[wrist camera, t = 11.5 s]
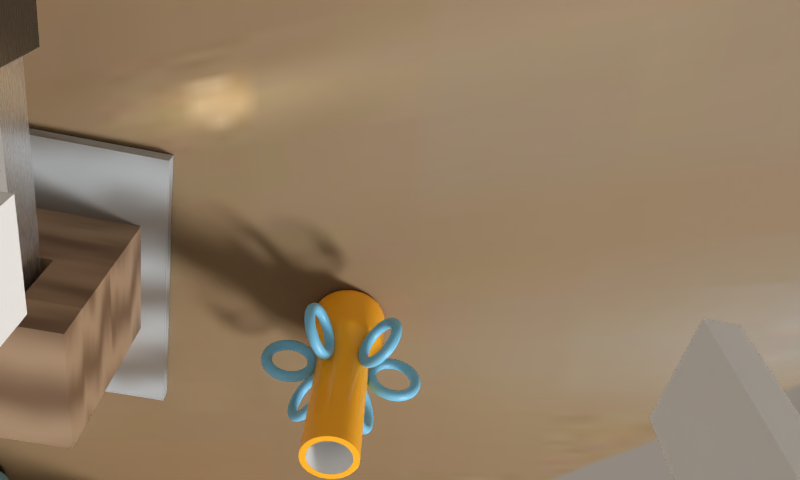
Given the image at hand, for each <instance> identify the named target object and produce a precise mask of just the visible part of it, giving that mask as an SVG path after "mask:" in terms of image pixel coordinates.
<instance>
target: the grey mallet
mask: <svg viewBox="0 0 800 480" xmlns="http://www.w3.org/2000/svg"><path fill="white" fill-rule="evenodd" d="M38 47H39V35H38V22H37V9H36V0H0V191H1V192H6V193H12V194H14V196H15V206H16V215H17V224H18V234H19V243H20V252H21V261H22V271H23V280H24V289H25V292H26V291H27V290H28V289H29V288H30V287H31V285H32V284H33V283H34V282H35V281H36V280H37V278H38V277H39V276H40V275H41V274H42V268H41V256H40V245H39V234H38V223H37V212H36V201H35V190H34V179H33V168H32V156H31V145H30V134H29V123H28V112H27V101H26V90H25V79H24V67H23V55H25V54H27V53H29V52H30V51H32V50H34V49H36V48H38Z"/></svg>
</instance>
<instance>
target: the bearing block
mask: <svg viewBox="0 0 800 480" xmlns="http://www.w3.org/2000/svg"><path fill="white" fill-rule="evenodd" d="M29 134H30V145H31V156H32V168H33V179H34V190H35V201H36V212H37V223H38V234H39V245H40V256H41V268H42V274H41V275H40V276H39V277H38V278H37V280H36V281H35V282H34V283H33V284H32V285H31V287H30V288H29V289H28V290H27V291H26V292H25V299H26V308H27V315H26V316H25V317H24V319H23V320H22V321H21V322H20V323H19V325H18V326H17V327H16V328H15V330H14V331H13V332H12V333H11V334H10V336H9V337H8V338H7V339H6V341H5V342H4V343H3V344H2V345H1V347H0V438H6V439H13V440H19V441H26V442H33V443H39V444H46V445H52V446H59V447H66V448H73V447H74V445H75V443H76V441H77V440H78V438H79V436H80V434H81V433H82V431H83V429H84V427H85V425H86V424H87V422H88V420H89V418H90V417H91V415H92V413H93V411H94V410H95V408H96V406H97V404H98V403H99V401H100V399H101V397H102V396H103V394H104V392H105V391H107V392H113V393H120V394H126V395H132V396H138V397H145V398H151V399H157V400H164V397H165V395H166V393H167V365H168V329H169V294H170V258H171V222H172V187H173V155H169V154H164V153H159V152H153V151H148V150H143V149H138V148H132V147H127V146H122V145H116V144H111V143H106V142H100V141H95V140H90V139H84V138H79V137H74V136H69V135H63V134H58V133H53V132H47V131H42V130H37V129H31V128H29Z"/></svg>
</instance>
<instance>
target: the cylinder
mask: <svg viewBox="0 0 800 480" xmlns="http://www.w3.org/2000/svg"><path fill="white" fill-rule="evenodd" d="M304 322H305V330H306V334H307V338H308V346H307V345H305V344H304V343H301V342H298V341H294V340H281V341H277V342H274V343H272V344H270V345H269V346H267V347H266V348H265V350H264V351H263V353H262V356H261V363H262V366H263V368H264V370H265V371H266V372H267V373H268V374H269V375H270V376H272V377H274V378H276V379H278V380H281V381H285V382H298V381H302V380H304V381H303V382H302V383H301V385H300V386H299V387H298V388H297V390H296V391H295V393H294V394H293V396H292V398H291V400H290V403H289V406H288V417H289V418H290V420H292V421H294V422H299V421H302V420H304V419H305V424H304V429H303V434H302V440H301V445H300V450H299V461H300V463H301V465H302V466H303V468H304V469H305V470H307V471H308V472H309V473H311V474H313V475H315V476H318V477H321V478H326V479H337V478H342V477H345V476H348V475H350V474H351V473H353V472H354V471H355V470H356V469H357V468H358V466H359V464H360V455H361V445H362V434H368V433H369V432H370V431H371V429H372V427H373V410H372V405H371V401H370V397H369V395H368V392H367V384H368V386H369V387H370V389H371V390H372V391H373V392H374V393H375V394H377V395H378V396H380V397H382V398H384V399H387V400H391V401H405V400H408V399H411V398H412V397H414V396H415V395H416V394H417V393H418V391H419V389H420V378H419V375H418V374H417V372H416V371H415V370H414V369H413V368H412V367H411V366H410V365H408V364H407V363H405V362H402V361H400V360H396V359H387V358H388V357H389V356H390V355H391V354H392V352H393V351H394V350H395V348H396V346H397V345H398V343H399V341H400V338H401V335H402V325H401V323H400V321H399V320H397V319H395V318H388V319H385V318H384V313H383V311H382V309H381V307H380V306H379V304H378V303H377V302H376V301H375V300H374V299H373V298H372V297H370V296H369V295H367V294H365V293H362V292H359V291H355V290H340V291H336V292H333V293H331V294H329V295H327V296H326V297H324V298H323V299H322V300H321V301H320V302H319V303H311V304H309V305H308V306H307V308H306V310H305V316H304ZM390 328H392V331H391V334H390V337H389V339H388V341H387V342H386V344H385V345H384V346H383V340H384V331H386V330H388V329H390ZM282 350H293V351H296V352H299V353H301V354H302V355H304V356H305V357H306V359H307V361H308V364H307V366H306V367H305V368H304V369H302V370H299V371H285V370H282V369H280V368H278V367H276V366H275V365H274V364H273V362H272V356H273V355H274V354H275V353H276V352H278V351H282ZM382 369H395V370H398V371H400V372H402V373H404V374H405V375H406V376H407V377H408V378H409V380H410V386H409V387H408V388H407V389H405V390H401V391H395V390H390V389H388V388H385V387H384V386H382V385H381V384H380V383H379V382H378V381H377V379H376V374H377V372H378V371H380V370H382ZM311 387H312V388H311ZM310 388H311V393H310V398H309V402H308V404H307V405H306V406H305V407H304V408H302V409H301V410H299V411H298V406H299V404H300V401H301V400H302V398H303V396H304V395H305V393H306V392H307V391H308V390H309V389H310Z"/></svg>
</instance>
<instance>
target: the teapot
mask: <svg viewBox="0 0 800 480" xmlns="http://www.w3.org/2000/svg"><path fill="white" fill-rule="evenodd" d="M0 480H9V478H8V477H7V476H6V475H5V474H4V473H2V472H1V471H0Z"/></svg>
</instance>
